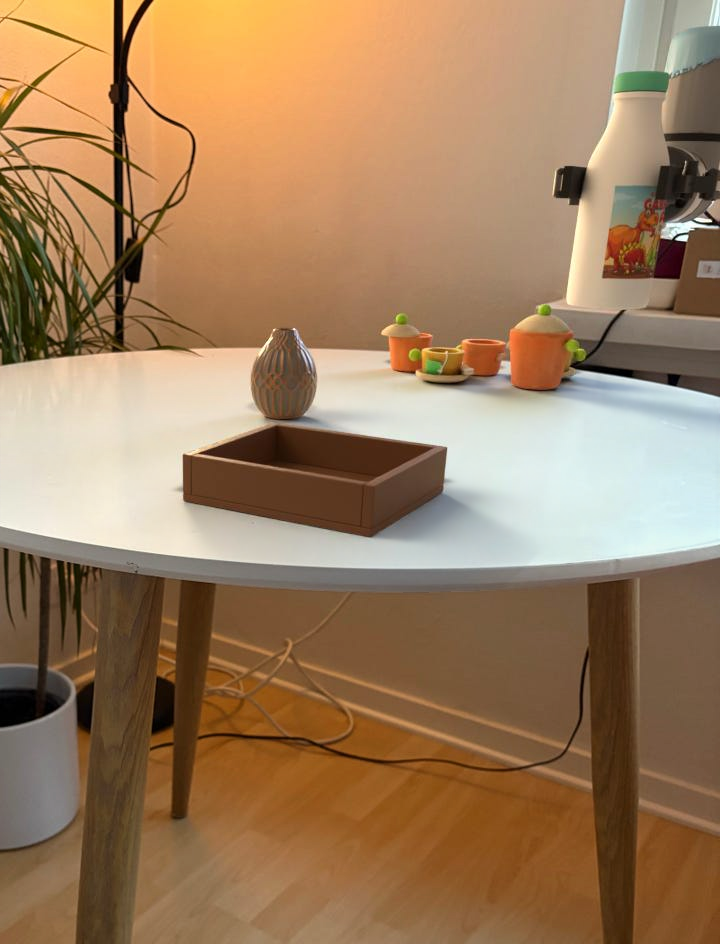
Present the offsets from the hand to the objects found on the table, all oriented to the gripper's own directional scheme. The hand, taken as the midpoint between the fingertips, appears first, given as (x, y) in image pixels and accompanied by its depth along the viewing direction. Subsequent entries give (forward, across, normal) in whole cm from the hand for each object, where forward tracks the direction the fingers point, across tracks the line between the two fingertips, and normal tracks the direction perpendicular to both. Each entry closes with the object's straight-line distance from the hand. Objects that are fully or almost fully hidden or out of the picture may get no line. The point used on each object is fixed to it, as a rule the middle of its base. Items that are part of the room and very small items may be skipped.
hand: (613, 182), depth 88 cm
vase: (+9, +28, -23) cm, 37 cm away
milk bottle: (-5, 0, -11) cm, 12 cm away
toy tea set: (-26, +19, -23) cm, 39 cm away
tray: (+34, +11, -23) cm, 42 cm away
